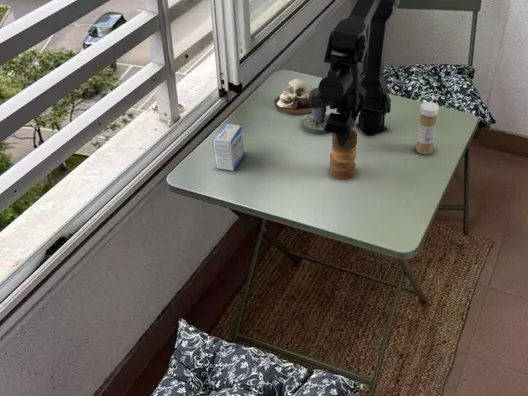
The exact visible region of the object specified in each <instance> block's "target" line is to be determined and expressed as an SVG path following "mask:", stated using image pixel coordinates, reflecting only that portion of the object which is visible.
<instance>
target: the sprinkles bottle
mask: <svg viewBox="0 0 528 396" xmlns="http://www.w3.org/2000/svg"><path fill="white" fill-rule="evenodd" d="M438 114H439V105H438V104H437V103H436V102H431V101H425V102H423V103H421V104H420V109H419V123H418V130H417V141H416V143H417V144H416V147H415V150H416V152H417V153H419V154H420V155H430V154H432V153H433V152H434V142H435V136H436V135H435V134H436V128H437V121H438Z"/></svg>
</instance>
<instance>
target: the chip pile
mask: <svg viewBox="0 0 528 396" xmlns="http://www.w3.org/2000/svg"><path fill="white" fill-rule="evenodd" d="M331 155H332V152H331V153H330V154H329V166H330V174H331V176H332V177H334V178H335V179H337V180H342V181H344V180H350V179H352V178H354V177H355V175H356V162H355V159H354V160H353V161H351V162H348V163H341V162H337V161H335V160H334V159H333V158H332V156H331Z"/></svg>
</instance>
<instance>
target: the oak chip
mask: <svg viewBox="0 0 528 396" xmlns="http://www.w3.org/2000/svg"><path fill="white" fill-rule="evenodd" d="M331 153H332V155H331V156H332V158H333V159H334V160H335V161H337V162H341V163H348V162H351V161H353V160H354V161H355V160H356V158H357V145H356V146H355V147H354V148H352V149H348V150H342V149H338V148H336V147H334V146H333V144H332V145H331Z"/></svg>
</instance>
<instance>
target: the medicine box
mask: <svg viewBox="0 0 528 396" xmlns="http://www.w3.org/2000/svg"><path fill="white" fill-rule="evenodd" d="M213 145H214V154H215V160H216V161H215V162H216V163H215V164H216V169H218V170H224V171H231V172H234V170H235V169H236V168H237V166H238V164H239V163H240V161H241V159H242V158H243V156H244V155H245V150H244V149H245V148H244V135H243V126H242V125H238V124H234V123H233V124H232V123H225V125H224V126H223V127H222V129H221V130H220V131H219V132H218V134H217V135H216V136H215V138H214V140H213Z"/></svg>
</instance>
